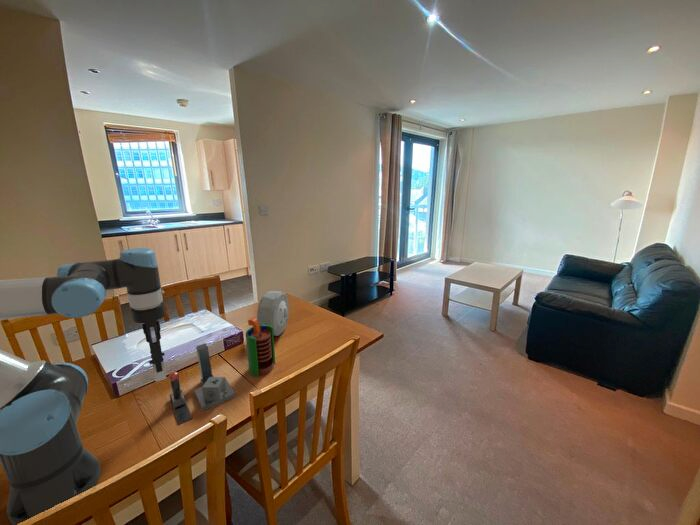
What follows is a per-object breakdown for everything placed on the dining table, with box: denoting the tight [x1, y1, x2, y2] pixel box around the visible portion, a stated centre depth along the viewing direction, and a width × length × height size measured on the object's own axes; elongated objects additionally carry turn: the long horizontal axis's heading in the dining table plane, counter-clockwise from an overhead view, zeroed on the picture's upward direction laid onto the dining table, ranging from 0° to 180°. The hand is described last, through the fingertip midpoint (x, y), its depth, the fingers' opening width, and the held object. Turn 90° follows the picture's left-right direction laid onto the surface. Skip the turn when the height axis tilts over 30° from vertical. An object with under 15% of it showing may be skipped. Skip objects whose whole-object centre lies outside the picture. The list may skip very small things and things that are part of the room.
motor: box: [245, 317, 276, 378], centre depth 109 cm, size 10×9×20 cm
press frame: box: [169, 342, 236, 425], centre depth 95 cm, size 17×16×14 cm
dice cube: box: [201, 376, 226, 401], centre depth 95 cm, size 5×5×5 cm
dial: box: [256, 290, 290, 337], centre depth 135 cm, size 20×12×20 cm, turn 171°
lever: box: [168, 371, 186, 408], centre depth 92 cm, size 3×4×11 cm
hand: (160, 378), depth 87 cm, fingers closed
